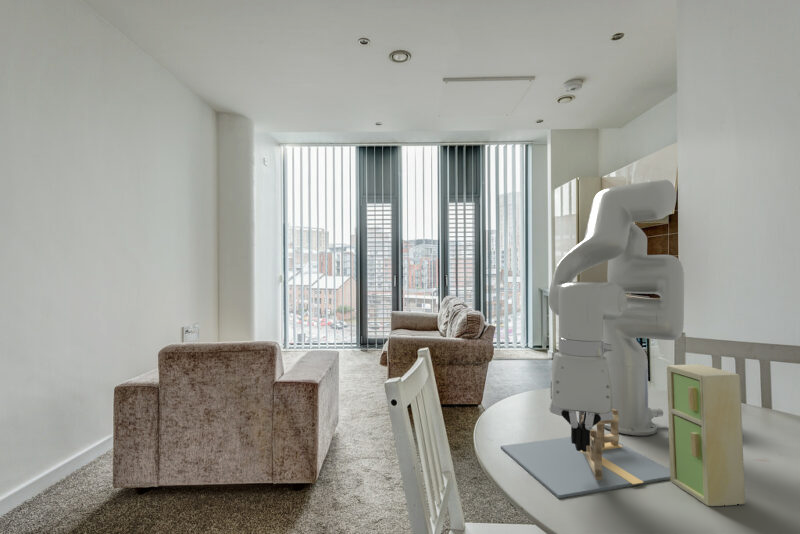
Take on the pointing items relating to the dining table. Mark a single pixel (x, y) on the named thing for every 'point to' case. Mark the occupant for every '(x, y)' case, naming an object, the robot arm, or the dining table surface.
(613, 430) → the fence fixed
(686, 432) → the toy refrigerator
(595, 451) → the fence gate
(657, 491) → the dining table surface
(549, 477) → the card
